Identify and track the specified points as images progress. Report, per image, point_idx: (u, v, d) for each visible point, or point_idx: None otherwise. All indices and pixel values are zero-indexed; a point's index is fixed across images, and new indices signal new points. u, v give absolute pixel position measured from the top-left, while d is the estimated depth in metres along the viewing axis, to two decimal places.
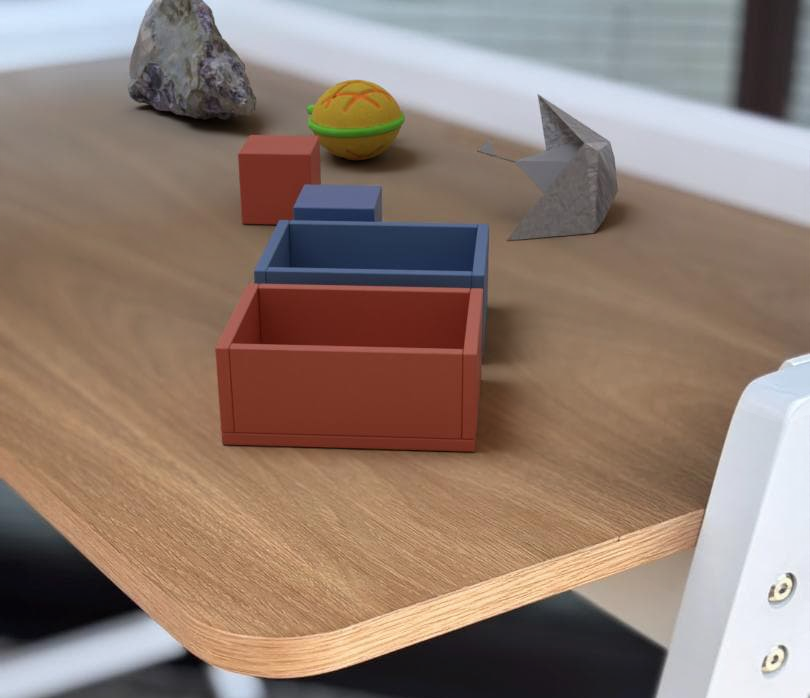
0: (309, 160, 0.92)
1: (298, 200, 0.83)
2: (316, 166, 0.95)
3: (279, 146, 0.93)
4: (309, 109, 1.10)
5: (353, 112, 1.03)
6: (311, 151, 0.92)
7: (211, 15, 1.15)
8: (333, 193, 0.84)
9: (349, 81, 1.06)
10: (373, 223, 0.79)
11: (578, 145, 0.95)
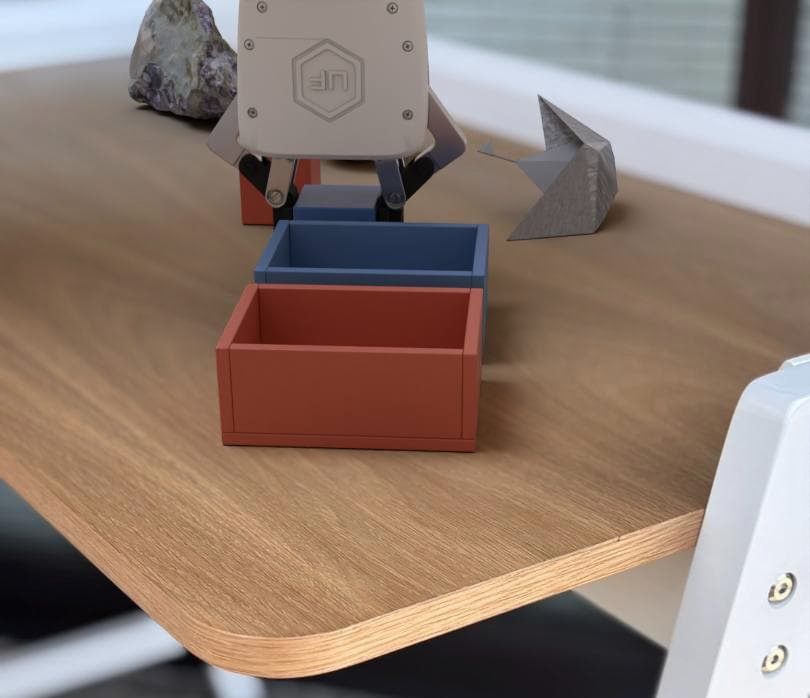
0: (309, 160, 0.92)
1: (298, 200, 0.83)
2: (316, 166, 0.95)
3: None
4: None
5: None
6: None
7: (211, 15, 1.15)
8: (333, 193, 0.84)
9: None
10: (373, 223, 0.79)
11: (578, 145, 0.95)
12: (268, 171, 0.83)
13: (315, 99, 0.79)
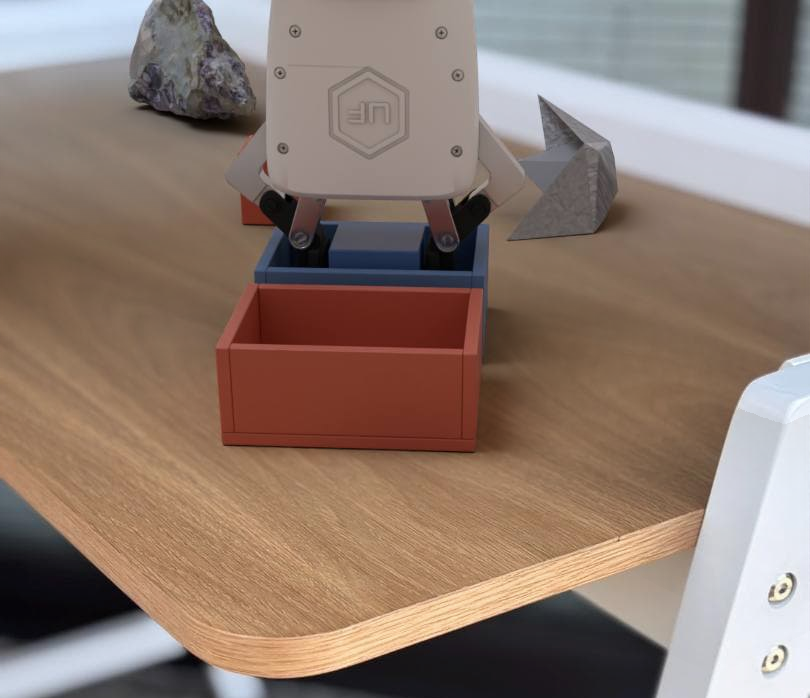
0: None
1: (334, 241, 0.75)
2: None
3: None
4: None
5: None
6: None
7: (211, 15, 1.15)
8: (372, 233, 0.76)
9: None
10: None
11: (578, 145, 0.95)
12: (292, 210, 0.74)
13: (353, 134, 0.70)
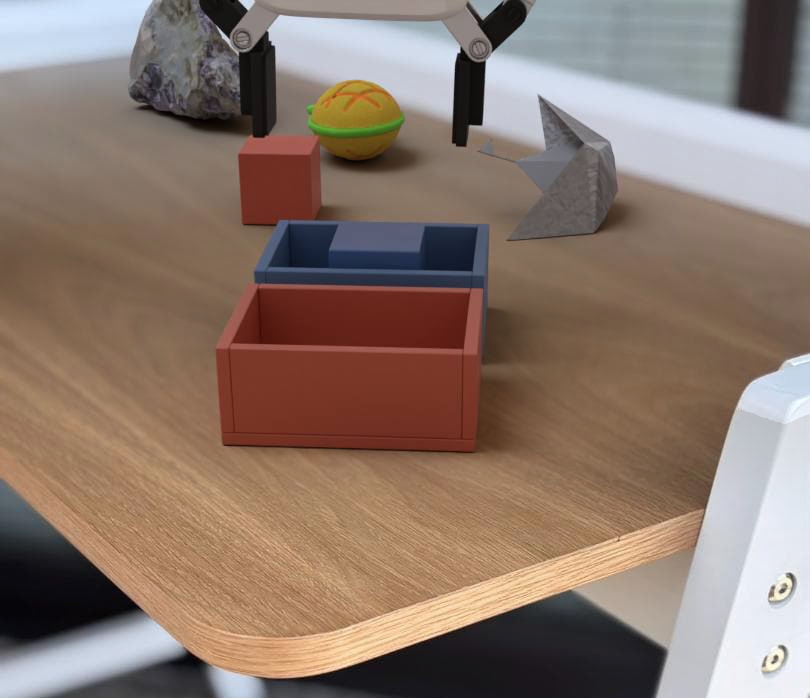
0: (309, 160, 0.92)
1: (334, 241, 0.75)
2: (316, 166, 0.95)
3: (279, 146, 0.93)
4: (309, 109, 1.10)
5: (353, 112, 1.03)
6: (311, 151, 0.92)
7: None
8: (372, 233, 0.76)
9: (349, 81, 1.06)
10: None
11: (578, 145, 0.95)
12: (234, 8, 0.70)
13: None
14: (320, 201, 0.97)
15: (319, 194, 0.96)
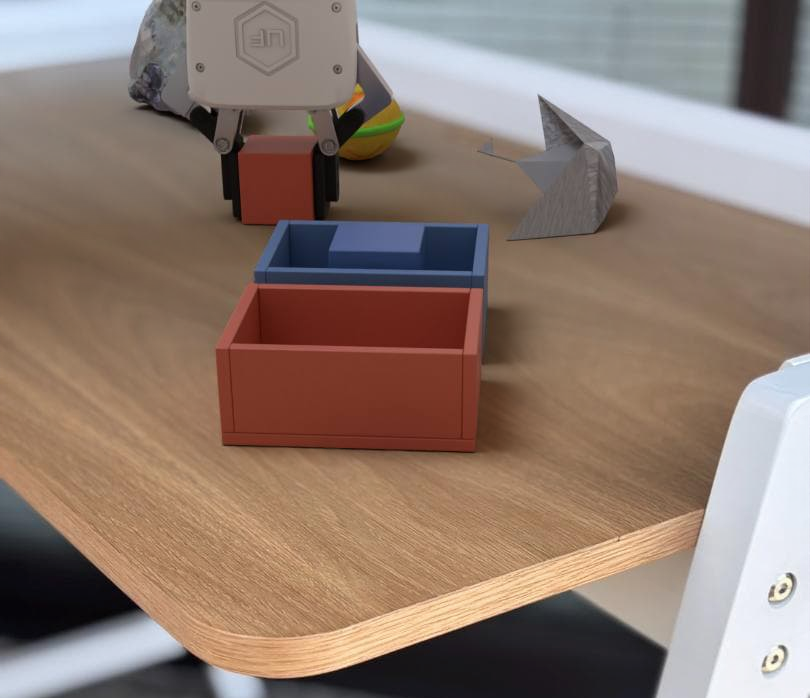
0: (309, 160, 0.92)
1: (334, 241, 0.75)
2: None
3: (279, 146, 0.93)
4: None
5: None
6: (311, 151, 0.92)
7: None
8: (372, 233, 0.76)
9: None
10: None
11: (578, 145, 0.95)
12: (216, 121, 0.93)
13: (255, 55, 0.89)
14: None
15: None
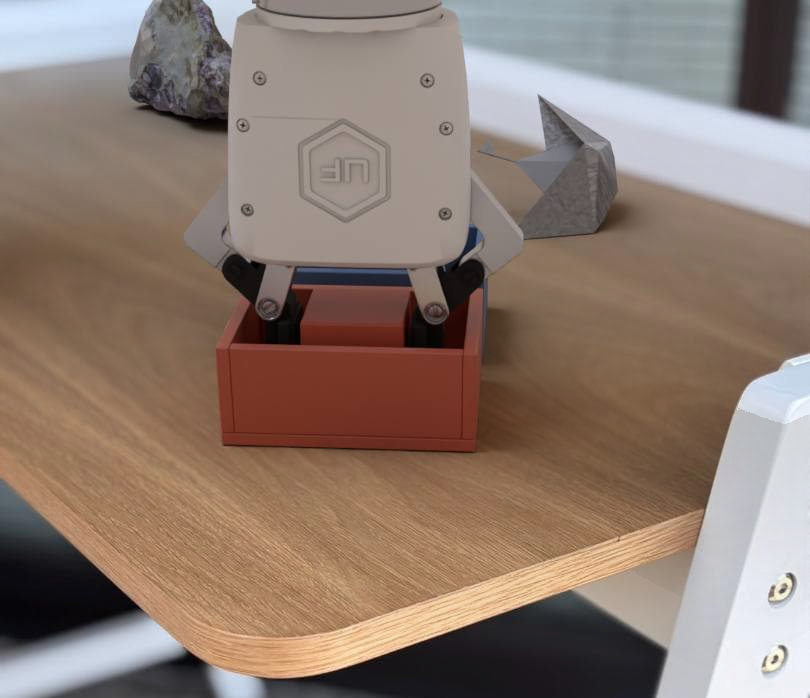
0: (401, 333, 0.65)
1: None
2: (407, 334, 0.68)
3: (357, 310, 0.66)
4: None
5: None
6: (403, 319, 0.65)
7: (211, 15, 1.15)
8: None
9: None
10: None
11: (578, 145, 0.95)
12: (259, 276, 0.66)
13: (327, 194, 0.62)
14: None
15: None
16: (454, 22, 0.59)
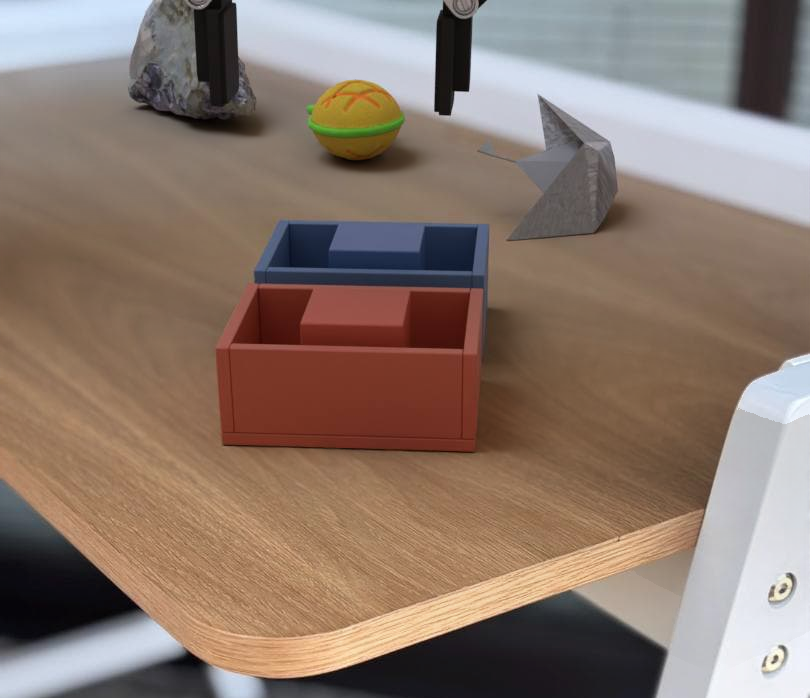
0: (401, 333, 0.65)
1: (334, 241, 0.75)
2: (407, 334, 0.68)
3: (357, 310, 0.66)
4: (309, 109, 1.10)
5: (353, 112, 1.03)
6: (403, 319, 0.65)
7: None
8: (372, 233, 0.76)
9: (349, 81, 1.06)
10: None
11: (578, 145, 0.95)
12: None
13: None
14: None
15: None
16: None
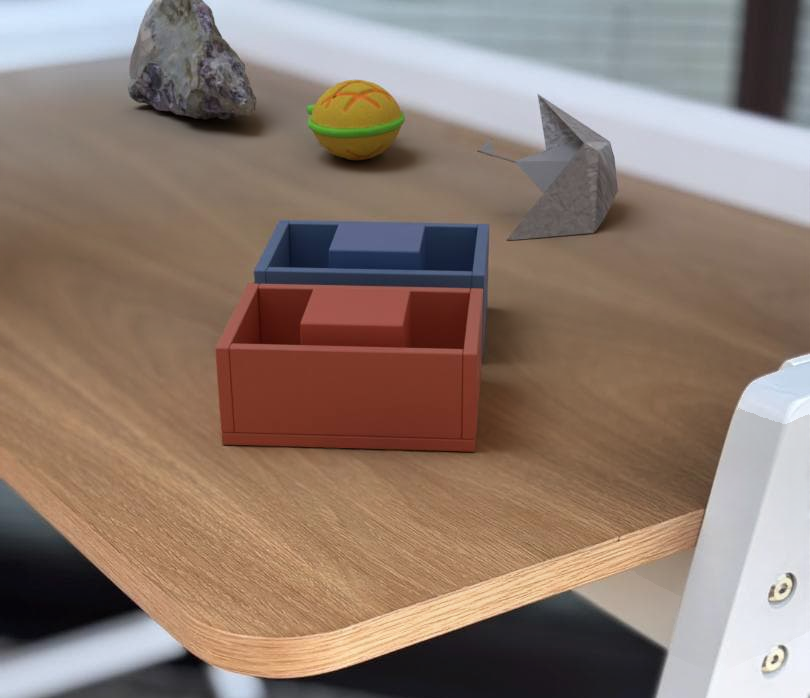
0: (401, 333, 0.65)
1: (334, 241, 0.75)
2: (407, 334, 0.68)
3: (357, 310, 0.66)
4: (309, 109, 1.10)
5: (353, 112, 1.03)
6: (403, 319, 0.65)
7: (211, 15, 1.15)
8: (372, 233, 0.76)
9: (349, 81, 1.06)
10: None
11: (578, 145, 0.95)
12: None
13: None
14: None
15: None
16: None
